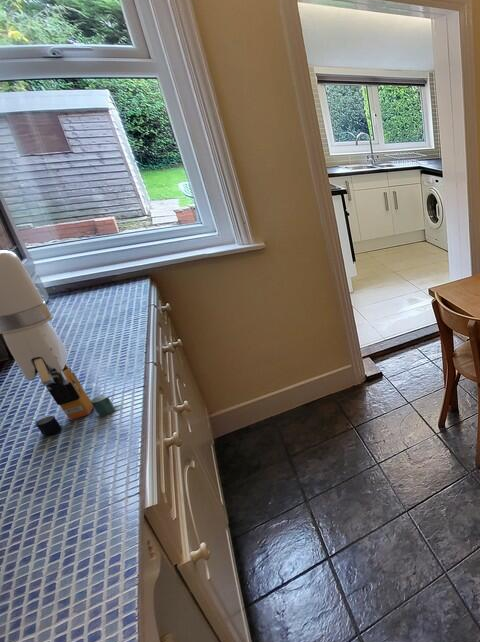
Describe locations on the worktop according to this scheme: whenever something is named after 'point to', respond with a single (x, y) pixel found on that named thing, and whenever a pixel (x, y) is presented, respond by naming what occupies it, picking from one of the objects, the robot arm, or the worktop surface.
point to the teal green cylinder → (102, 405)
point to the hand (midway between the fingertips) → (70, 395)
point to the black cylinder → (48, 426)
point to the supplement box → (77, 406)
